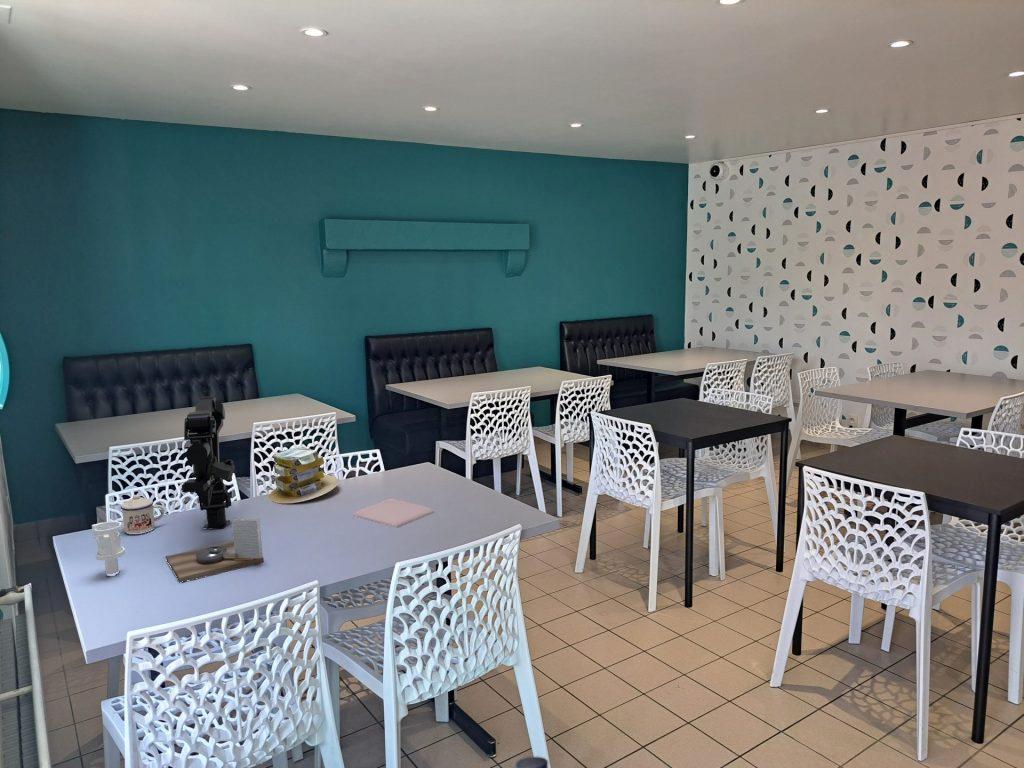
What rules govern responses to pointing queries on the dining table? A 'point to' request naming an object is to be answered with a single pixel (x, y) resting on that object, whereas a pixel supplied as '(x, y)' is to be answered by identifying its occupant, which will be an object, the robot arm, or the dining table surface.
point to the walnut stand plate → (205, 564)
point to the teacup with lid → (139, 514)
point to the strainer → (108, 544)
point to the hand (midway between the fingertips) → (207, 506)
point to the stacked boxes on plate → (300, 476)
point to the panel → (393, 512)
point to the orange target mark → (243, 558)
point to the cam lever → (237, 543)
